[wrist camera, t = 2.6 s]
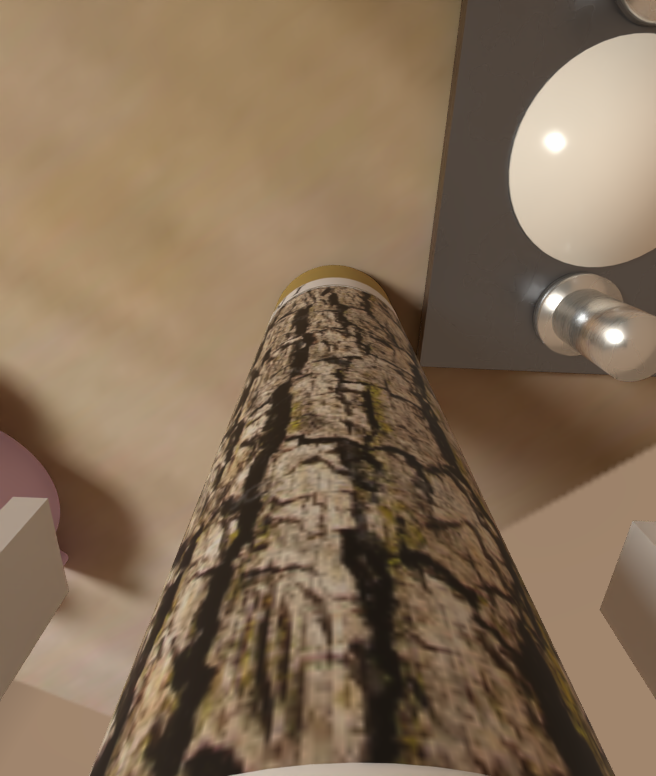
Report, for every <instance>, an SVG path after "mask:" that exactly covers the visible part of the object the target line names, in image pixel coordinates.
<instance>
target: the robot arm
mask: <svg viewBox="0 0 656 776" xmlns="http://www.w3.org/2000/svg"><path fill="white" fill-rule="evenodd" d="M68 592H69V589H68V585H67V580H66V576H65V571H64V567H63V563H62V558H61V554H60V549H59V545H58V540H57V536H56V532H55V527H54V523H53V518H52V514H51V509H50V505H49V501H48V498H30V497H12V498H11V499H10V500H9V502H8V503H7V504H6V505H5V506H4V507H3V508H2V509H1V510H0V700H1V698H2V697H3V695H4V694H5V692H6V690H7V689H8V687H9V685H10V684H11V683H12V681H13V679H14V678H15V676H16V675H17V673H18V671H19V670H20V668H21V667H22V665H23V663H24V662H25V660H26V659H27V657H28V656H29V654H30V652H31V651H32V649H33V648H34V646H35V644H36V643H37V641H38V640H39V638H40V636H41V635H42V633H43V632H44V630H45V628H46V627H47V625H48V624H49V622H50V620H51V619H52V617H53V616H54V614H55V612H56V611H57V609H58V608H59V606H60V604H61V603H62V601H63V600H64V598H65V597H66V595H67V593H68ZM600 611H601V613H602V614H603V616H604V617H605V619H606V620H607V622H608V624H609V625H610V627H611V628H612V630H613V631H614V633H615V635H616V636H617V638H618V640H619V641H620V643H621V645H622V646H623V648H624V649H625V651H626V652H627V654H628V656H629V657H630V659H631V660H632V662H633V664H634V665H635V667H636V668H637V670H638V672H639V673H640V675H641V677H642V678H643V680H644V681H645V683H646V684H647V686H648V688H649V689H650V691H651V692H652V694H653V696H654V697H655V699H656V522H653V521H632V524H631V527H630V530H629V532H628V535H627V537H626V540H625V543H624V546H623V548H622V551H621V554H620V556H619V559H618V562H617V565H616V567H615V570H614V573H613V575H612V578H611V581H610V584H609V586H608V589H607V592H606V594H605V597H604V600H603V602H602V605H601V608H600Z"/></svg>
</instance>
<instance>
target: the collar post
mask: <svg viewBox="0 0 656 776" xmlns="http://www.w3.org/2000/svg"><path fill="white" fill-rule="evenodd" d="M533 326H534V330H535V333H536V335H537V336H538V338H539V339H540V340H541V341H542V342H543V343H544V344H545V345H546V346H547V347H549V348H550V349H551V350H553V351H554V352H556V353H559V354H562V355H567V356H578V355H583V356H584V357H586V358H587V359H588V360H590V361H591V362H593V363H594V364H595V365H597V366H598V367H599V368H601V369H602V370H604V371H605V372H606V373H608V374H609V375H611V376H612V377H613V378H615V379H617V380H620V381H625V382H634V381H639V380H643V379H646V378H648V377H650V376H652V375H653V374H655V373H656V316H654V315H651V314H649V313H647V312H644V311H642V310H640V309H638V308H635V307H633V306H631V305H629V304H626V303H624V302H623V298H622V295H621V293H620V291H619V289H618V288H617V286H616V285H615V284H614V283H613V282H611V281H610V280H608V279H606V278H604V277H601V276H599V275H596V274H593V273H589V272H576V273H571V274H568V275H565V276H563V277H561V278H559V279H557V280H556V281H554V282H553V283H552V284H550V285H549V286H548V287H547V288H546V289H545V290H544V291H543V293H542V294H541V295H540V297H539V299H538V301H537V303H536V305H535V308H534V313H533Z"/></svg>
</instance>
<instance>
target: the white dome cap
mask: <svg viewBox="0 0 656 776" xmlns="http://www.w3.org/2000/svg"><path fill="white" fill-rule="evenodd" d="M508 186H509V194H510V200H511V204H512V208H513V212H514V214H515V216H516V219H517V221H518V223H519V225H520V227H521V228H522V230H523V232H524V233H525V235H526V236H527V237H528V238H529V239H530V241H531V242H532V243H533V244H534V245H535V246H537V247H538V248H539V249H540V250H541V251H543V252H544V253H546V254H547V255H549V256H551V257H553V258H555V259H557V260H559V261H562V262H564V263H568V264H572V265H575V266H583V267H605V266H611V265H616V264H620V263H624V262H627V261H630V260H632V259H635V258H637V257H640V256H642V255H644V254H646V253H648V252H649V251H651V250H653V249H655V248H656V34H653V33H635V34H629V35H623V36H618V37H615V38H612V39H609V40H606V41H603V42H601V43H599V44H597V45H595V46H593V47H591V48H589V49H587V50H585V51H583V52H582V53H580V54H579V55H577V56H575V57H574V58H572V59H571V60H570V61H568V62H567V63H566V64H565V65H564V66H562V67H561V68H560V69H559V70H558V71H557V72H556V73H555V74H554V75H553V76H552V77H551V78H550V79H549V80H548V81H547V82H546V83H545V84H544V86H543V87H542V88H541V89H540V91H539V92H538V93H537V94H536V96H535V97H534V99H533V100H532V102H531V104H530V105H529V107H528V108H527V110H526V112H525V114H524V116H523V118H522V120H521V122H520V124H519V127H518V130H517V133H516V135H515V138H514V141H513V146H512V150H511V154H510V161H509V169H508Z"/></svg>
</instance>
